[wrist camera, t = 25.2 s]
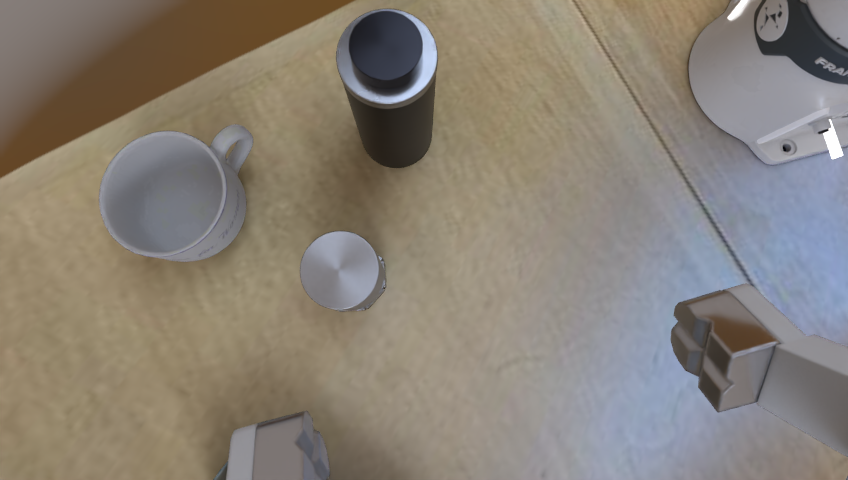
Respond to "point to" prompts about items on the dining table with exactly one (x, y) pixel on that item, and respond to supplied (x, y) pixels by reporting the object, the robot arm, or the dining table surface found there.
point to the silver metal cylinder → (342, 272)
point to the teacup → (176, 194)
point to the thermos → (390, 84)
